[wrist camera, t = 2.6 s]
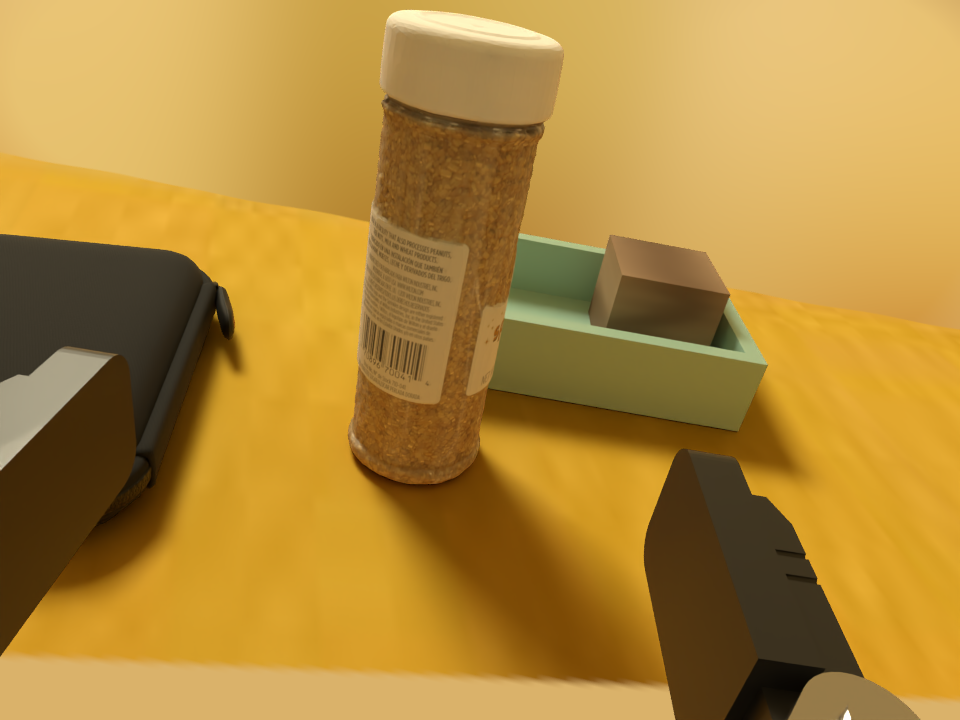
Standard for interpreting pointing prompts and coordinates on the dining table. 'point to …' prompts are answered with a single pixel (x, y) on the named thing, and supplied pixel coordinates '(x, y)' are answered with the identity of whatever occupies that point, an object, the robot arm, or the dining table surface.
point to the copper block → (658, 291)
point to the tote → (614, 348)
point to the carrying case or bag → (112, 326)
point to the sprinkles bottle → (444, 233)
